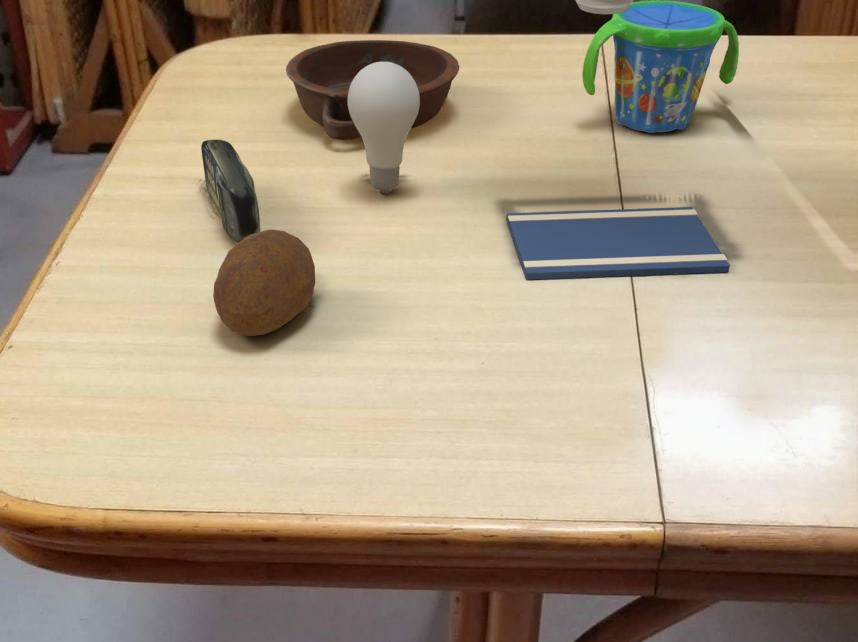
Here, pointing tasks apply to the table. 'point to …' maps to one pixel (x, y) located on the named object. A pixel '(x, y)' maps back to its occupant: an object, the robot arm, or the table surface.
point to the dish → (341, 61)
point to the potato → (264, 282)
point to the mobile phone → (231, 188)
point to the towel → (614, 243)
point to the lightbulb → (383, 118)
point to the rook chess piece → (604, 6)
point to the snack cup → (661, 61)
